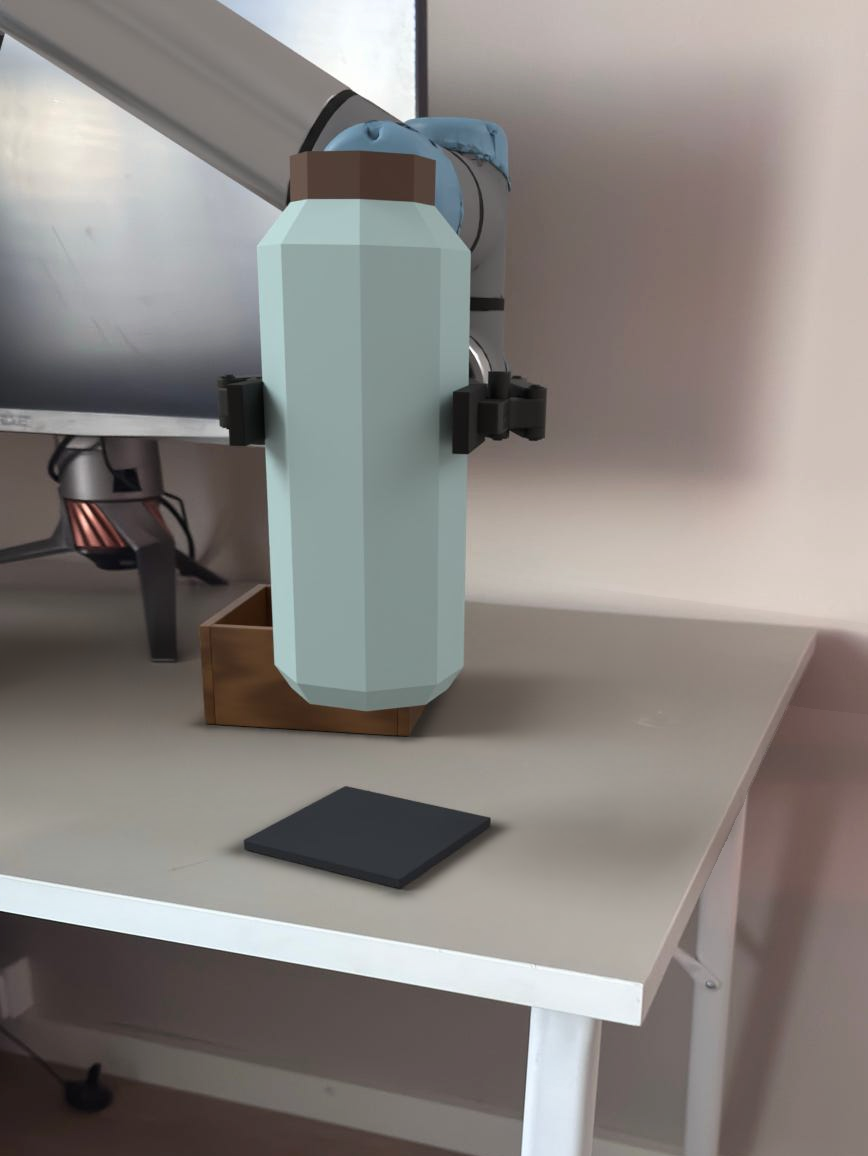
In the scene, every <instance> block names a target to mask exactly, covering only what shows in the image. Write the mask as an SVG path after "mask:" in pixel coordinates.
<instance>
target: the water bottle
mask: <svg viewBox="0 0 868 1156" xmlns="http://www.w3.org/2000/svg"><path fill="white" fill-rule="evenodd" d="M435 178H436V160H433V159H429V158H426V157H422V156H419V155H415V154H402V153H389V152H375V151H361V150H356V151H306V152H302V153H299V154H295V155H292V156H290V203H289V205H288V206H287V207H286V209H285V210H284V211H283V212H282V213H280V215H279V216H278V218H277V219H276V220H275V222H274V223H273V224H272V226H271V227H270V228H269V229H268V231H267V232H266V233H265V235H264V236H263V237H262V239H261V240H260V241H259V242H258V244H257V245H256V259H257V260H256V262H257V263H256V264H257V287H258V310H259V331H260V332H259V333H260V334H259V335H260V355H261V358H260V359H261V374H262V381H263V398H264V421H265V445H264V451H265V452H264V453H265V472H266V473H265V474H266V495H267V499H266V500H267V520H268V521H267V523H268V544H269V546H268V547H269V566H270V567H269V569H270V570H269V571H270V584H271V593H272V617H273V640H274V663H275V666H276V667H277V669H278V670H279V671H280V673H281V674H282V675H283V677H284V678H285V680H286V681H287V682H288V684H289V685H290V687H291V688H292V689H293V690H295V691H296V692H297V693H298V694H299V695H300V696H302V697H303V698H304V699H305V700H306V701H307V702H308V703H310V704H315V705H323V706H330V707H338V708H346V709H353V710H361V711H374V710H383V709H392V708H401V707H410V706H419V705H426V704H427V705H428V704H429V703H430V702H431V701H433V700H435V699H436V698H438V696H440V695H442V694H443V693H445V692H446V691H448V689H450V687H451V686H452V684H453V682H454V681H455V680H456V679H457V677H458V675H459V674H460V672H461V671H462V670H463V668H464V666H465V665H464V664H465V612H466V611H465V608H466V556H467V555H466V554H467V553H466V550H467V501H468V499H467V498H468V497H467V496H468V495H467V494H468V493H467V491H468V490H467V488H468V454H452V422H453V391H456V390H458V389H460V388H463V387H465V386H468V384H469V326H470V268H471V251H470V250H469V249H468V247H467V246H466V245H465V244H464V242H463V241H462V240H461V239H460V237H459V236H458V235H457V234H456V232H455V231H454V230H453V229H452V227H451V226H450V225H449V224H448V222H447V221H446V220H445V218H444V217H443V216H442V215H441V213H440V212H439V211H438V210H437V208H436V207H435ZM427 705H426V706H427Z"/></svg>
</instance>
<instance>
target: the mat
mask: <svg viewBox="0 0 868 1156" xmlns="http://www.w3.org/2000/svg"><path fill="white" fill-rule="evenodd" d="M491 822H492V819H491V817H490V816H485V815H481V814H476V813H471V812H466V811H462V810H458V809H453V808H449V807H443V806H439V805H434V804H429V803H425V802H421V801H416V800H411V799H408V798H403V797H398V796H393V795H389V794H384V793H380V792H375V791H371V790H365V789H362V788H357V787H352V786H348V785H345V786H343V787H341V788H339V789H337V790H335V791H333V792H331V793H329V794H328V795H325V796H324V797H322V798H320V799H318V800H316V801H314V802H312V803H310V804H309V805H307V806H305V807H303V808H301V809H299V810H298V811H295V812H294V813H291V814H290V815H287V816H286V817H284V818H282V819H280V820H278V821H277V822H274V823H273V824H271V825H269V826H267V827H265V828H264V829H262V830H260V831H258V832H256V833H254V834H252V835H250V836H248V837H246V838H244V839H243V849H244V850H245V851H249V852H253V853H257V854H261V855H265V856H269V857H272V858H276V859H281V860H283V861H284V860H285V861H289V862H292V863H296V864H299V865H300V864H301V865H305V866H308V867H313V868H317V869H319V870H320V869H321V870H325V871H329V872H331V873H336V874H340V875H345V876H348V877H352V878H355V879H359V880H364V881H367V882H368V881H369V882H372V883H375V884H379V885H383V886H387V887H392V888H395V889H399V890H401V889H402V888H404V887H406V886H407V885H409V884H410V883H411V882H413V881H414V880H416V879H417V878H419V877H420V876H421V875H423V874H425V873H426V872H427V871H429V870H430V869H431V868H433V867H434V866H436V865H437V864H439V863H440V862H442V861H444V860H445V859H446V858H447V857H449V856H450V855H452V854H453V853H455V852H456V851H457V850H459V849H460V848H462V847H463V846H465V845H466V844H468V843H469V842H470V841H472V840H473V839H475V838H476V837H478V836H479V835H481V834H482V833H483V832H485V831H487V830H488V829H489V828H491Z"/></svg>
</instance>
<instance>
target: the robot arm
mask: <svg viewBox="0 0 868 1156" xmlns="http://www.w3.org/2000/svg"><path fill="white" fill-rule="evenodd" d="M5 35H7V36H9V37H10V38H12V39H13V40H15V41H17V42H18V43H19V44H21V45H22V46H24V47H25V48H27V49H29V50H31V51H32V52H33V53H35V54H37V55H38V56H40V57H41V58H43V59H44V60H46V61H48V62H49V63H51V64H52V65H54V66H56V68H59V69H60V70H62V71H63V72H64V73H66V74H67V75H69V76H71V77H72V78H74V79H75V80H77V81H79V82H80V83H82V84H84V85H85V86H86V87H88V88H90V89H91V90H93V91H94V92H95V93H97V94H99V95H100V96H102V97H104V98H105V99H106V100H107V101H110V102H111V103H113V105H116V106H117V107H119V108H120V109H122V110H124V111H125V112H127V113H128V114H130V115H131V116H133V117H134V118H136V119H137V120H139V121H140V122H142V123H144V124H146V125H147V126H149V127H150V128H152V129H153V130H154V131H156V132H158V133H160V134H161V135H162V136H163V137H165V138H167V139H169V140H170V141H172V142H173V143H174V144H177V145H178V146H179V147H181V148H182V149H184V150H186V151H187V152H189V153H190V154H192V155H194V156H195V157H197V158H198V159H199V160H201V161H203V162H204V163H206V164H208V165H209V166H211V167H212V168H214V169H215V170H217V171H218V172H220V173H222V174H223V175H224V176H226V177H228V178H229V179H231V180H232V181H234V182H235V183H237V184H238V185H240V186H241V187H243V188H244V189H246V190H247V191H250V193H253V194H254V195H256V196H257V197H259V198H260V199H262V200H264V201H265V202H266V203H268V204H270V205H272V206H273V207H274V208H276V209H277V210H279V211H281V212H282V213H283V211H284V210H285V209H286V207H287V206H288V205H289V203H290V156H292V155H295V154H299V153H302V152H306V151H356V150H361V151H375V152H389V153H402V154H415V155H419V156H422V157H426V158H429V159H433V160H436V178H435V207H436V208H437V210H438V211H439V212H440V213H441V215H442V216H443V217H444V218H445V220H446V221H447V222H448V224H449V225H450V226H451V227H452V229H453V230H454V231H455V232H456V234H457V235H458V236H459V237H460V239H461V240H462V241H463V242H464V244H465V245H466V246H467V247H468V249H469V250H470V251H471V268H470V326H469V384H468V386H465V387H463V388H460V389H458V390H456V391H453V422H452V454H467V455H469V454H471V453H472V452H473V451H475V450H476V449H477V448H479V446H481V445H482V444H483V443H485V442H486V438H488V439H491V440H492V441H496V442H502V441H503V440H507V439H509V438H510V432H511V433H513V434H515V435H516V436H518V437H521V438H523V439H527V440H528V441H529V442H539V441H542V440H543V439H546V428H547V427H546V426H547V425H546V424H547V401H548V399H547V397H548V393H547V392H548V388H547V387H545V386H543V385H541V384H535V383H532V382H530V381H528V378H527V377H525V378H524V377H522V375H514V374H513V375H512V371H511V370H510V371H509V364H508V363H507V361H506V360H507V359H506V358H505V352H504V350H505V319H506V311H505V303H506V302H505V301H506V300H505V288H506V286H505V285H506V262H507V234H508V209H509V193H510V192H511V191H512V190H511V189H512V186H511V183H512V180H511V177H510V176H509V142H508V137H507V134H506V132H505V131H504V129H503V128H502V127H501V126H500V125H498V124H497V123H495V122H492V121H487V120H482V119H478V118H470V117H458V116H457V117H456V116H425V117H415V118H410V119H407V120H405V121H403V120H400V119H399V118H398V117H396V116H395V115H393V114H391V113H390V112H388V111H387V110H385V109H384V108H382V107H380V106H379V105H377V104H376V103H375V102H373V101H371V100H369V99H367V98H366V97H364V96H362V95H361V94H359V93H357V92H356V91H355V90H353V89H352V88H351V87H349V86H348V85H347V84H345V83H344V82H342V81H340V80H339V79H338V78H336V77H335V76H333V75H332V74H330V73H328V72H327V71H326V70H324V69H322V68H321V67H319V66H318V65H316V64H315V63H313V62H312V61H310V60H309V59H307V58H305V57H304V56H303V55H301V54H299V53H298V52H296V51H295V50H294V49H292V48H291V47H289V46H288V45H285V44H284V43H283V42H281V41H279V40H278V39H276V37H273V36H272V35H270V33H267V32H266V31H265V30H263V29H261V28H260V27H258V26H257V25H255V24H254V23H252V22H251V21H249V20H247V19H246V18H245V17H243V16H242V15H240V14H238V13H237V12H235V11H234V10H233V9H231V8H229V7H228V6H226V5H225V4H224V3H221V2H220V1H219V0H0V51H1V49H2V46H3V42H4V38H5ZM216 386H217V387H216V389H217V390H216V391H217V408H218V409H217V410H218V423H219V425H218V426H219V427H220V428H222V429H225V430H228V442H229V447H247V446H251V445H253V446H254V445H255V446H265V421H264V398H263V381H262V373H257V374H244V375H234V374H230V373H227V374H226V373H224V374H223V375H219V376H217V377H216Z"/></svg>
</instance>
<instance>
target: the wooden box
mask: <svg viewBox="0 0 868 1156" xmlns="http://www.w3.org/2000/svg"><path fill="white" fill-rule="evenodd" d="M198 631H199V635H198V636H199V649H200V667H201V682H202V697H203V713H204V723H205V724H206V725H207V724H208V725H220V726H233V727H234V726H236V727H251V728H268V729H286V730H299V731H300V730H302V731H318V732H333V733H334V732H335V733H348V734H363V735H365V734H366V735H381V736H396V737H398V736H401V737H409V736H410V735H411V734H412V731H413V730H414V728H415V726H416V724H417V723H418V721H419V719H420V717H421V716H422V713H423V712H424V710H425V709H426V707H427V705H428V703H427V704H426V705H419V706H410V707H401V708H392V709H383V710H374V711H361V710H353V709H346V708H338V707H330V706H323V705H315V704H310V703H308V702H307V701H306V700H305V699H304V698H303V697H302V696H300V695H299V694H298V693H297V692H296V691H295V690H293V689H292V688H291V687H290V685H289V684H288V682H287V681H286V680H285V678H284V677H283V675H282V674H281V673H280V671H279V670H278V669H277V667H276V666H275V663H274V640H273V617H272V593H271V583H270V584H267V583H258V584H257V585H255V586H254V587H252V588H251V589H249V590H248V591H247V592H245V593H244V594H242V595H240V597H238V598H237V599H235V600H234V601H232V602H231V603H230V604H228V605H227V606H226V607H223V608H222V609H220V611H218V612H217V613H215V614H213V616H211V617H210V618H208V619H207V620H205V621H203V623H201V624H199V626H198Z"/></svg>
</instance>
